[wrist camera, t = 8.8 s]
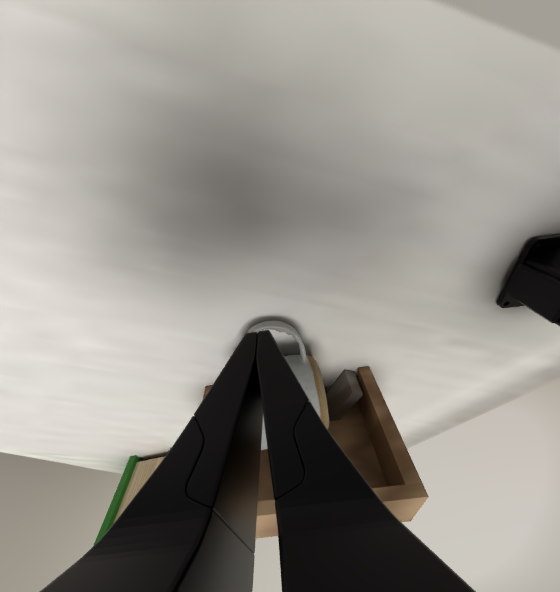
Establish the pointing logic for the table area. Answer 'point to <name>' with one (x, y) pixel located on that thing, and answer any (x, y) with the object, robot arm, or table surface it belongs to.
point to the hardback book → (128, 489)
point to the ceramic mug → (300, 373)
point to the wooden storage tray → (358, 450)
